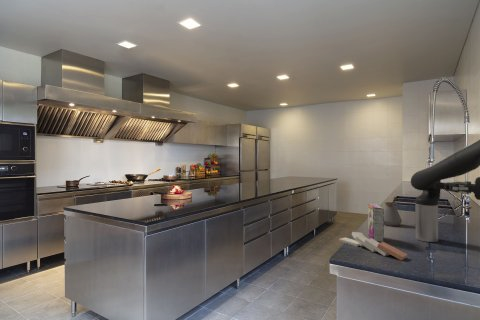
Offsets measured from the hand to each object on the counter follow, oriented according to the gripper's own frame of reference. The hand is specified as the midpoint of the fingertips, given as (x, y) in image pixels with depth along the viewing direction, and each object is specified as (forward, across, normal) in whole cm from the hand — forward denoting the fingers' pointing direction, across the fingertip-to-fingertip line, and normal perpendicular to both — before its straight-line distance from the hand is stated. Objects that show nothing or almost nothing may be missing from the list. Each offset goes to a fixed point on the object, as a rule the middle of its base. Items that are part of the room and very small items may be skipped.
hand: (434, 185), depth 106 cm
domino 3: (+22, 0, +29) cm, 36 cm away
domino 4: (+16, +1, +29) cm, 33 cm away
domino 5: (+10, 0, +29) cm, 31 cm away
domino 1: (+31, -2, +30) cm, 43 cm away
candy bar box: (+32, -18, +30) cm, 48 cm away
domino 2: (+28, -1, +29) cm, 40 cm away
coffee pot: (+44, -58, +30) cm, 79 cm away
